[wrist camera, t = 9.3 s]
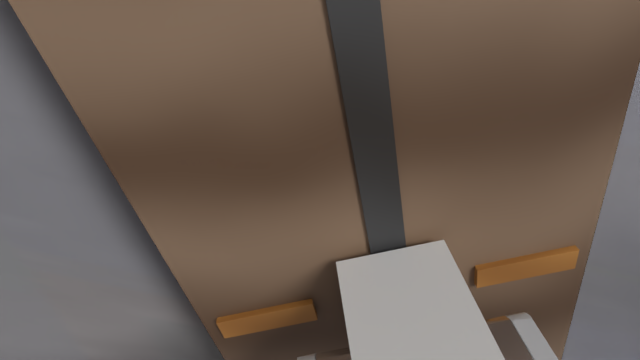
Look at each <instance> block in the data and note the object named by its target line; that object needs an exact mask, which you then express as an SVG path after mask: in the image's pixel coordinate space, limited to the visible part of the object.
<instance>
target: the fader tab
mask: <svg viewBox="0 0 640 360" xmlns="http://www.w3.org/2000/svg"><path fill="white" fill-rule="evenodd" d="M336 267H337V273H338V279H339V285H340V292H341V298H342V304H343V310H344V316H345V323H346V329H347V335H348V341H349V348H350V354H351V360H505V358H504V356H503V354H502V353H501V351H500V349H499V347H498V345H497V343H496V341H495V339H494V337H493V335H492V333H491V331H490V329H489V327H488V325H487V323H486V321H485V319H484V317H483V315H482V313H481V311H480V309H479V307H478V305H477V303H476V301H475V300H474V298H473V296H472V294H471V292H470V290H469V288H468V286H467V284H466V282H465V280H464V278H463V276H462V274H461V272H460V270H459V268H458V266H457V264H456V262H455V260H454V258H453V256H452V254H451V252H450V250H449V248H448V247H447V245H446V243H445V241H444V240H440V241H435V242H430V243H425V244H420V245H415V246H411V247H406V248H401V249H396V250H391V251H386V252H381V253H377V254H372V255H367V256H362V257H357V258H352V259H347V260H343V261H338V262H336Z"/></svg>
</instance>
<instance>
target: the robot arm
mask: <svg viewBox="0 0 640 360" xmlns="http://www.w3.org/2000/svg"><path fill="white" fill-rule="evenodd" d="M485 321H486V323H487V325H488V327H489V329H490V331H491V333H492V335H493V337H494V339H495V341H496V343H497V345H498V347H499V349H500V351H501V353H502V354H503V356H504V358H505V360H558V358H557V357H556V355H555V353H554V352H553V350H552V349H551V347H550V346H549V344H548V342H547V341H546V339H545V338H544V336H543V335H542V333H541V332H540V330H539V328H538V327H537V325H536V324H535V322H534V321H533V319H532V317H531V316H530V315H529V314H527V313H525V312H522V313H517V314H512V315H507V316H501V317H496V318H492V319H487V320H485ZM297 360H351V354H350V348H349V347H348V348H342V349H337V350H332V351H327V352H322V353H315V354H310V355H305V356H301V357H297Z"/></svg>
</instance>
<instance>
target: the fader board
mask: <svg viewBox="0 0 640 360" xmlns="http://www.w3.org/2000/svg"><path fill="white" fill-rule="evenodd" d="M8 1H9V3H10V5H11V6H12V8H13V10H14V11H15V13H16V15H17V16H18V18H19V20H20V21H21V23H22V25H23V26H24V28H25V30H26V31H27V33H28V34H29V36H30V38H31V39H32V41H33V43H34V44H35V46H36V48H37V49H38V51H39V53H40V54H41V56H42V58H43V59H44V61H45V63H46V64H47V66H48V68H49V69H50V71H51V73H52V74H53V76H54V78H55V79H56V81H57V83H58V84H59V86H60V88H61V89H62V91H63V92H64V94H65V96H66V97H67V99H68V101H69V102H70V104H71V106H72V107H73V109H74V111H75V112H76V114H77V116H78V117H79V119H80V121H81V122H82V124H83V126H84V127H85V129H86V131H87V132H88V134H89V136H90V137H91V139H92V141H93V142H94V144H95V146H96V147H97V149H98V150H99V152H100V154H101V155H102V157H103V159H104V160H105V162H106V164H107V165H108V167H109V169H110V170H111V172H112V174H113V175H114V177H115V179H116V180H117V182H118V184H119V185H120V187H121V189H122V190H123V192H124V194H125V195H126V197H127V199H128V200H129V202H130V204H131V205H132V207H133V208H134V210H135V212H136V213H137V215H138V217H139V218H140V220H141V222H142V223H143V225H144V227H145V228H146V230H147V232H148V233H149V235H150V237H151V238H152V240H153V242H154V243H155V245H156V247H157V248H158V250H159V252H160V253H161V255H162V257H163V258H164V260H165V262H166V263H167V265H168V266H169V268H170V270H171V271H172V273H173V275H174V276H175V278H176V280H177V281H178V283H179V285H180V286H181V288H182V290H183V291H184V293H185V295H186V296H187V298H188V300H189V301H190V303H191V305H192V306H193V308H194V310H195V311H196V313H197V315H198V316H199V318H200V320H201V321H202V323H203V324H204V326H205V328H206V329H207V331H208V333H209V334H210V336H211V338H212V339H213V341H214V343H215V344H216V346H217V348H218V349H219V351H220V353H221V354H222V356H223V358H224V359H225V360H297V357H301V356H305V355H310V354H315V353H322V352H327V351H332V350H337V349H342V348H348V347H349V341H348V335H347V329H346V323H345V316H344V310H343V304H342V298H341V292H340V285H339V279H338V273H337V267H336V262H338V261H343V260H347V259H352V258H357V257H362V256H367V255H372V254H377V253H381V252H386V251H391V250H396V249H401V248H406V247H411V246H415V245H420V244H425V243H430V242H435V241H440V240H444V241H445V243H446V245H447V247H448V248H449V250H450V252H451V254H452V256H453V258H454V260H455V262H456V264H457V266H458V268H459V270H460V272H461V274H462V276H463V278H464V280H465V282H466V284H467V286H468V288H469V290H470V292H471V294H472V296H473V298H474V300H475V301H476V303H477V305H478V307H479V309H480V311H481V313H482V315H483V317H484V319H485V320H487V319H492V318H496V317H501V316H507V315H512V314H517V313H522V312H525V313H527V314H529V315H530V316H531V317H532V319H533V321H534V322H535V324H536V325H537V327H538V328H539V330H540V332H541V333H542V335H543V336H544V338H545V339H546V341H547V342H548V344H549V346H550V347H551V349H552V350H553V352H554V353H555V355H556V357H557V358H558V360H561V358H562V355H563V351H564V347H565V343H566V339H567V336H568V332H569V328H570V324H571V320H572V317H573V313H574V309H575V305H576V301H577V298H578V294H579V290H580V286H581V282H582V279H583V275H584V271H585V267H586V263H587V260H588V256H589V252H590V248H591V244H592V241H593V237H594V233H595V229H596V225H597V222H598V218H599V214H600V210H601V206H602V203H603V199H604V195H605V191H606V187H607V184H608V180H609V176H610V172H611V168H612V165H613V161H614V157H615V153H616V149H617V146H618V142H619V138H620V134H621V130H622V127H623V123H624V119H625V115H626V111H627V108H628V104H629V100H630V96H631V92H632V89H633V85H634V81H635V77H636V73H637V70H638V66H639V62H640V0H8Z"/></svg>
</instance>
